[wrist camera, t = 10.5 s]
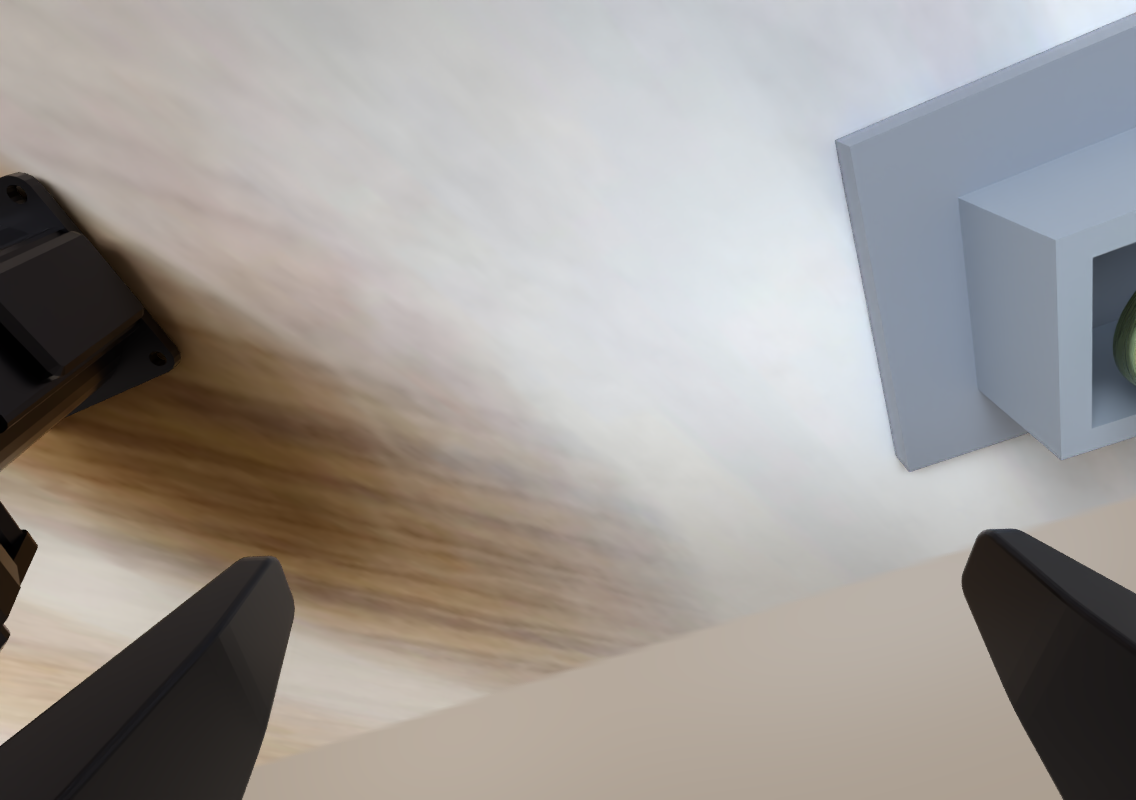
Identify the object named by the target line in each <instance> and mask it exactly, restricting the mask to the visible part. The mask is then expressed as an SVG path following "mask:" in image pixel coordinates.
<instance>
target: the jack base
mask: <svg viewBox="0 0 1136 800" xmlns="http://www.w3.org/2000/svg"><path fill="white" fill-rule="evenodd" d="M835 142H836V148H837V153H838V158H839V163H840V168H841V173H842V179H843V184H844V189H845V194H846V199H847V204H848V210H849V215H850V220H851V225H852V230H853V235H854V241H855V246H856V251H857V256H858V261H859V266H860V272H861V277H862V282H863V287H864V292H865V298H866V303H867V308H868V313H869V318H870V323H871V329H872V334H873V339H874V344H875V349H876V354H877V360H878V365H879V370H880V375H881V380H882V385H883V391H884V396H885V401H886V406H887V411H888V416H889V422H890V427H891V432H892V437H893V442H894V447H895V453H896V456H897V458H898V459H899V460H900V461H901V462H902V464H903V465H904V466H905V467H906V469H907V470H908V471H909V472H911V471H914V470H917V469H920V468H923V467H926V466H929V465H932V464H936V463H939V462H942V461H945V460H948V459H951V458H954V457H957V456H960V455H963V454H966V453H969V452H972V451H975V450H978V449H981V448H984V447H987V446H990V445H993V444H996V443H999V442H1002V441H1005V440H1008V439H1011V438H1014V437H1017V436H1021V435H1024V434H1027V433H1030V434H1031V435H1032V436H1033V437H1035V438H1036V439H1037V440H1038V441H1039V442H1040V443H1042V444H1043V445H1044V446H1045V447H1046V448H1048V449H1049V450H1050V451H1051V452H1052V453H1053V454H1055V455H1056V456H1057V457H1058V458H1059V459H1060V460H1064V459H1067V458H1070V457H1073V456H1076V455H1080V454H1083V453H1086V452H1089V451H1092V450H1095V449H1098V448H1101V447H1105V446H1108V445H1111V444H1114V443H1117V442H1120V441H1123V440H1126V439H1130V438H1133V437H1136V386H1135V385H1134V384H1132V383H1131V382H1129V381H1128V380H1127V379H1126V378H1124V376H1123V375H1122V374H1121V373H1120V371H1119V370H1118V368H1117V366H1116V364H1115V360H1114V356H1113V338H1114V333H1115V329H1116V325H1117V323H1118V320H1119V318H1120V315H1121V313H1122V311H1123V310H1124V308H1125V306H1126V304H1127V302H1128V301H1129V299H1130V298H1131V297H1132V295H1133V294H1134V292H1135V291H1136V13H1134V14H1131V15H1129V16H1127V17H1124V18H1122V19H1120V20H1117V21H1115V22H1113V23H1110V24H1108V25H1106V26H1103V27H1101V28H1098V29H1096V30H1094V31H1091V32H1089V33H1087V34H1084V35H1082V36H1080V37H1077V38H1075V39H1073V40H1070V41H1068V42H1066V43H1063V44H1061V45H1059V46H1056V47H1054V48H1051V49H1049V50H1047V51H1044V52H1042V53H1040V54H1037V55H1035V56H1033V57H1030V58H1028V59H1026V60H1023V61H1021V62H1019V63H1016V64H1014V65H1011V66H1009V67H1007V68H1004V69H1002V70H1000V71H997V72H995V73H993V74H990V75H988V76H986V77H983V78H981V79H979V80H976V81H974V82H971V83H969V84H967V85H964V86H962V87H960V88H957V89H955V90H953V91H950V92H948V93H946V94H943V95H941V96H939V97H936V98H934V99H931V100H929V101H927V102H924V103H922V104H920V105H917V106H915V107H913V108H910V109H908V110H906V111H903V112H901V113H899V114H896V115H894V116H891V117H889V118H887V119H884V120H882V121H880V122H877V123H875V124H873V125H870V126H868V127H866V128H863V129H861V130H859V131H856V132H854V133H851V134H849V135H847V136H844V137H842V138H840V139H837V140H835Z"/></svg>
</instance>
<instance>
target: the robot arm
mask: <svg viewBox="0 0 1136 800" xmlns="http://www.w3.org/2000/svg"><path fill="white" fill-rule="evenodd" d="M17 186H20V187H21V188H22V189H23V190H24V191H25V193H26V194H27V199H24V198H23V197H22V196H21V195H20V194H19V193H18V191H17ZM156 351H157V352H160V353H162V354H163V355H164V356H165V358H166V359H167V360H163V359H161V358H160V357H158V356H157V354H156ZM180 359H181V355H180V352H179V350H178V348H177V347H176V345H175V344H174V343H173V342H172V341H171V339H170V338H169V337H168V336H167V335H166V333H165V332H164V331H163V330H162V329H161V327H160V326H159V325H158V324H157V323H156V321H155V320H154V319H153V318H152V317H151V315H150V314H149V313H148V312H147V311H146V309H145V308H144V307H143V305H142V304H141V303H140V301H139V300H138V299H137V298H136V297H135V295H134V294H133V293H132V292H131V291H130V289H129V288H128V287H127V286H126V285H125V283H124V282H123V281H122V280H121V279H120V277H119V276H118V275H117V274H116V272H115V271H114V270H113V269H112V268H111V266H110V265H109V264H108V263H107V262H106V260H105V259H104V258H103V257H102V256H101V254H100V253H99V252H98V251H97V250H96V248H95V247H94V246H93V245H92V244H91V242H90V241H89V240H88V239H87V238H86V237H85V236H84V235H83V233H82V232H81V231H80V230H79V229H78V227H77V226H76V225H75V224H74V223H73V221H72V220H71V219H70V218H69V217H68V215H67V214H66V213H65V212H64V211H63V209H62V208H61V207H60V206H59V205H58V203H57V202H56V201H55V200H54V199H53V197H52V196H51V195H50V194H49V193H48V191H47V190H46V189H45V188H44V187H43V185H42V184H41V183H40V182H39V181H38V180H37V179H36V178H34V177H32V176H31V175H29V174H26V173H21V172H18V173H14V174H10V175H7V176H3V177H1V178H0V471H1V470H3V469H4V468H5V467H6V466H7V465H9V464H10V463H11V462H12V461H13V460H15V459H16V458H17V457H18V456H19V455H20V454H22V453H23V452H24V451H25V450H26V449H28V448H29V447H30V446H31V445H32V444H34V443H35V442H36V441H37V440H38V439H39V438H41V437H42V436H43V435H44V434H45V433H47V432H48V431H49V430H50V429H51V428H52V427H54V426H55V425H56V424H57V423H58V422H60V421H61V420H62V419H63V418H65V417H67V416H70V415H72V414H74V413H76V412H79V411H81V410H83V409H85V408H88V407H90V406H92V405H94V404H97V403H99V402H101V401H103V400H106V399H108V398H110V397H112V396H115V395H117V394H119V393H122V392H124V391H126V390H128V389H131V388H133V387H135V386H137V385H140V384H142V383H144V382H146V381H149V380H151V379H153V378H155V377H158V376H160V375H162V374H165V373H167V372H169V371H170V370H172V369H173V368H174V367H175V366H176V365H177V364H178V363H179V361H180ZM37 548H38V545H37V544H36V542H35V541H34V540H33V538H32V537H31V535H30V534H29V532H28V531H27V530H21V529H20V528H19V527H18V525H17V524H16V522H15V521H14V520H13V518H12V517H11V515H10V514H9V513H8V511H7V510H6V508H5V507H4V505H3V504H2V503H1V501H0V651H1V650H2V649H3V647H4V645H5V644H6V642H7V640H8V638H9V636H10V632H9V630H8V628H7V627H6V626H5V625H4V622H5V621H6V620H7V618H8V616H9V614H10V611H11V609H12V607H13V604H14V602H15V600H16V597H17V595H18V593H19V590H20V588H21V587H20V585H21V583H22V581H23V579H24V577H25V574H26V572H27V570H28V568H29V566H30V563H31V561H32V559H33V557H34V555H35V553H36V550H37ZM962 589H963V593H964V596H965V598H966V601H967V603H968V605H969V608H970V610H971V612H972V615H973V617H974V619H975V622H976V624H977V626H978V629H979V631H980V633H981V636H982V638H983V640H984V642H985V645H986V647H987V650H988V652H989V654H990V657H991V659H992V661H993V663H994V666H995V668H996V670H997V673H998V675H999V677H1000V680H1001V682H1002V684H1003V687H1004V689H1005V691H1006V693H1007V695H1008V698H1009V700H1010V702H1011V704H1012V706H1013V708H1014V710H1015V712H1016V714H1017V716H1018V717H1019V720H1020V722H1021V723H1022V726H1023V727H1024V729H1025V731H1026V733H1027V735H1028V737H1029V738H1030V740H1031V742H1032V744H1033V745H1034V747H1035V749H1036V751H1037V753H1038V754H1039V756H1040V758H1041V760H1042V762H1043V764H1044V766H1045V767H1046V769H1047V771H1048V773H1049V774H1050V776H1051V778H1052V780H1053V782H1054V784H1055V785H1056V787H1057V789H1058V791H1059V793H1060V795H1061V796H1062V798H1063V800H1136V594H1135V593H1134V592H1132V591H1130V590H1128V589H1126V588H1124V587H1123V586H1121V585H1119V584H1117V583H1115V582H1114V581H1112V580H1110V579H1108V578H1106V577H1105V576H1103V575H1101V574H1099V573H1097V572H1095V571H1093V570H1092V569H1090V568H1088V567H1086V566H1085V565H1083V564H1081V563H1079V562H1077V561H1075V560H1074V559H1072V558H1070V557H1068V556H1066V555H1064V554H1063V553H1060V552H1059V551H1057V550H1055V549H1053V548H1052V547H1050V546H1048V545H1046V544H1045V543H1043V542H1041V541H1039V540H1037V539H1035V538H1033V537H1032V536H1030V535H1028V534H1026V533H1024V532H1022V531H1020V530H1017V529H989V530H984V531H982V532H981V533H980V534H979V535H978V536H977V538H976V540H975V543H974V546H973V548H972V551H971V553H970V556H969V558H968V561H967V563H966V566H965V568H964V571H963V574H962ZM294 611H295V606H294V600H293V596H292V593H291V591H290V588H289V585H288V582H287V580H286V577H285V574H284V571H283V569H282V566H281V564H280V562H279V560H278V559H277V558H276V557H273V556H253V557H244V558H241V559H239V560H238V561H236V562H235V563H234V564H233V565H231V566H230V567H229V568H227V569H226V570H225V571H224V572H222V573H221V574H220V575H218V576H217V577H216V578H215V579H213V580H212V581H211V582H209V583H208V584H207V585H206V586H204V587H203V588H202V589H201V590H199V591H198V592H197V593H195V594H194V595H193V596H192V597H190V598H189V599H188V600H186V601H185V602H184V603H183V604H181V605H180V606H179V607H177V608H176V609H175V610H174V611H172V612H171V613H170V614H169V615H167V616H166V617H165V618H163V619H162V620H161V621H160V622H158V623H157V624H156V625H154V626H153V627H152V628H151V629H149V630H148V631H147V632H145V633H144V634H143V635H142V636H140V637H139V638H138V639H137V640H135V641H134V642H133V643H131V644H130V645H129V646H128V647H126V648H125V649H124V650H122V651H121V652H120V653H119V654H117V655H116V656H115V657H113V658H112V659H111V660H110V661H108V662H107V663H106V664H104V665H103V666H102V667H101V668H99V669H98V670H97V671H96V672H94V673H93V674H92V675H90V676H89V677H88V678H87V679H85V680H84V681H83V682H81V683H80V684H79V685H78V686H76V687H75V688H74V689H72V690H71V691H70V692H69V693H67V694H66V695H65V696H64V697H62V698H61V699H60V700H58V701H57V702H56V703H55V704H53V705H52V706H51V707H49V708H48V709H47V710H46V711H44V712H43V713H42V714H40V715H39V716H38V717H37V718H35V719H34V720H33V721H32V722H30V723H29V724H28V725H26V726H25V727H24V728H23V729H21V730H20V731H19V732H17V733H16V734H15V735H14V736H12V737H11V738H10V739H8V740H7V741H6V742H5V743H3V744H2V745H1V746H0V800H242V798H243V795H244V793H245V790H246V787H247V784H248V781H249V779H250V776H251V773H252V770H253V768H254V765H255V762H256V759H257V756H258V753H259V750H260V747H261V744H262V741H263V738H264V735H265V732H266V728H267V725H268V721H269V717H270V713H271V709H272V705H273V701H274V697H275V693H276V689H277V685H278V681H279V677H280V672H281V668H282V664H283V660H284V656H285V652H286V648H287V644H288V640H289V636H290V631H291V627H292V623H293V619H294Z"/></svg>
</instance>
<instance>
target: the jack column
mask: <svg viewBox="0 0 1136 800" xmlns="http://www.w3.org/2000/svg"><path fill="white" fill-rule="evenodd" d="M1113 356H1114V360H1115V364H1116V366H1117V368H1118V370H1119V371H1120V373H1121V374H1122V375H1123V376H1124V378H1126V379H1127V380H1128V381H1129V382H1131V383H1132V384H1134V385H1135V386H1136V291H1135V292H1134V294H1133V295H1132V297H1131V298H1130V299H1129V301H1128V302H1127V304H1126V306H1125V308H1124V310H1123V311H1122V313H1121V315H1120V318H1119V320H1118V323H1117V325H1116V329H1115V333H1114V338H1113Z"/></svg>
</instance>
